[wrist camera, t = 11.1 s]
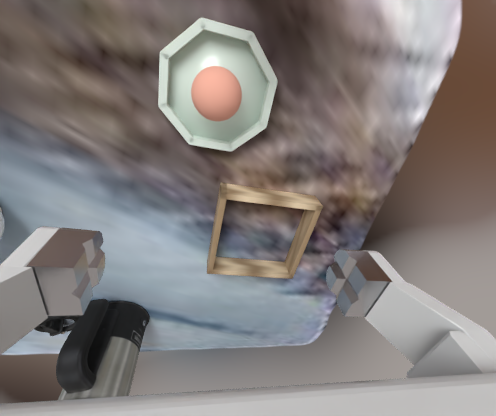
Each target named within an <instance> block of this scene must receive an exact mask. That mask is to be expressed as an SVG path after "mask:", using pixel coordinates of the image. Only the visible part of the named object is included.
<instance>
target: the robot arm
mask: <svg viewBox="0 0 496 416" xmlns="http://www.w3.org/2000/svg"><path fill="white" fill-rule="evenodd" d="M102 243H103V237H102V233H101V232H100V231H91V230H81V229H70V228H58V227H46V226H43V227H39V228H37V229H36V230H35V231H34V232H33V233H32V234H31V235H30V236H29V237H28V238H27V239H26V240H25V241H24V242H23V243H22V244H21V245H20V246H19V247H18V248H17V249H16V250H15V251H14V252H13V253H12V254H11V255H10V256H9V257H8V258H7V259H6V260H5V261H4V262H3V263H2V264H1V265H0V355H1V354H2V353H4V352H5V351H6V350H7V349H9V348H10V347H11V346H13V345H14V344H15V343H16V342H18V341H19V340H20V339H21V338H23V337H24V336H25V335H27V334H28V333H29V332H30V331H32V330H33V329H34V328H35V327H37V326H38V325H39V324H41V323H42V322H43V321H44V320H46V319H47V318H48V316H69V315H83V314H84V312H85V310H86V308H87V306H88V304H89V302H90V300H91V298H92V296H93V293H92V288H93V287H94V286H96V285H97V284H99V282H100V280H101V277H102V275H103V271H104V267H105V253H104V252H103V251H102V250H101V249H100V247H101V245H102ZM334 259H335V262H334V263H333V264H332V265H330V266H329V268H328V271H327V278H326V280H327V284H328V286H329V288H330V290H331V291H332V292H333V293H334V294H335V295H337V297H336V302H337V304H338V306H339V308H340V309H341V311H342V313H343V315H344V316H346V317H348V316H349V317H365V319H366V320H367V321H368V322H369V323H370V324H371V325H372V326H374V327H375V328H376V329H377V330H378V331H379V332H380V333H381V334H382V335H383V336H384V337H385V338H386V339H387V340H388V341H389V342H391V344H392V345H394V346H395V347H396V348H397V349H398V350H399V351H400V352H401V353H402V354H403V355H404V356H405V357H406V358H407V359H408V360H409V361H410V362H411V363H412V364H414V367H413V368H411V370H409V372H407V378H404V379H389V380H372V381H356V382H341V383H325V384H309V385H293V386H278V387H261V388H246V389H232V390H231V389H230V390H214V391H198V392H183V393H167V394H151V395H136V396H120V397H104V398H89V399H73V400H57V401H42V402H26V403H10V404H0V416H496V339H495V338H494V337H493V336H492V335H491V334H490V333H489V332H488V331H487V330H486V329H484V328H483V327H481V326H479V325H477V324H476V323H474V322H473V321H471V320H469V319H467V318H466V317H464V316H463V315H461V314H459V313H458V312H456V311H454V310H453V309H451V308H450V307H448V306H446V305H445V304H443V303H442V302H440V301H438V300H437V299H435V298H433V297H432V296H430V295H428V294H427V293H425V292H423V291H422V290H420V289H419V288H417V287H415V286H414V285H412V284H410V283H406V282H405V281H404V280H403V279H402V278H401V276H400V275H399V274H398V273H397V272H396V271H395V270H394V269H393V267H392V266H391V265H390V264H389V263H388V262H387V261H386V260H385V258H384V257H383V256H382V255H381V254H380V253H378V252H376V251H358V250H343V249H340V250H339V251H337V252H336V254H335V256H334Z"/></svg>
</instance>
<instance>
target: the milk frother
mask: <svg viewBox="0 0 496 416" xmlns="http://www.w3.org/2000/svg"><path fill="white" fill-rule="evenodd" d="M64 319H72V320H74V321H75V323H73V324H72V325H69V326H66V327H63V324H64ZM148 322H149V314H148V313H147V311H146V310H145V309H144V308H142V307H141V306H139V305H137V304H135V303H131V302H125V301H116V302H108V301H107V300H106V299H98V300H93V301H90V302H89V304H88V306H87V308H86V310H85V312H84V314H83V315H69V316H48V318H47V319H46V320H44V321H43V322H42V323H41V324H39V325H38V326H37V327H35V328H34V329H35V330H37V331H40V332H48V333H50V336H54V335H57V334H60V333H61V334H64V333H65V331H67V332H68V331H71V330H72V331H71V333H70V334H69V336H68V338H67V340H66V341H65V343H64V345H63V346H62V348H61V351H60V353H59V357H58V360H57V366H56V375H57V380H58V382H59V384H60V385H61V387H62V388H63V390H62V392H61V395H60V397H59V399H58V400H73V399H89V398H104V397H120V396H129V393H130V388H131V385H132V380H133V376H134V372H135V368H136V363H137V359H138V355H139V351H140V347H141V343H142V339H143V335H144V332H145V328H146V325H147V324H148Z"/></svg>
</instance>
